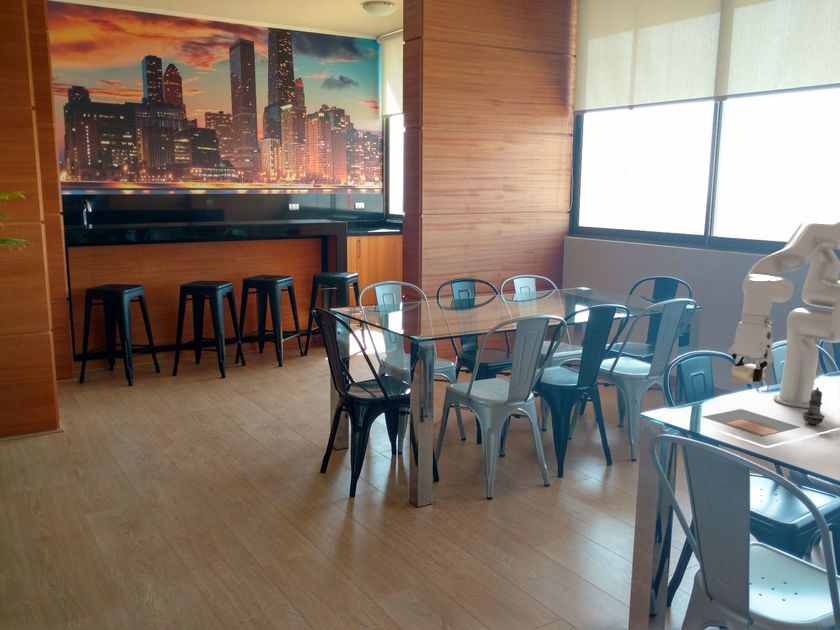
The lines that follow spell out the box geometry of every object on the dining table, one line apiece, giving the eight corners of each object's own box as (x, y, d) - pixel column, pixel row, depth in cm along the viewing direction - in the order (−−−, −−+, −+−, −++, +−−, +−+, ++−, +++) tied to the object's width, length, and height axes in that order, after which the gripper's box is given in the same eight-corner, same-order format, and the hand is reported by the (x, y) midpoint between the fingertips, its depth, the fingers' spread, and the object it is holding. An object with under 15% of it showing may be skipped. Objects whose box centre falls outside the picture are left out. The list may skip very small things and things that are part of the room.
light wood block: (749, 376, 223) (751, 363, 222) (764, 380, 219) (766, 367, 218) (730, 380, 218) (731, 367, 217) (745, 384, 214) (747, 371, 213)
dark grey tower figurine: (822, 425, 216) (828, 386, 214) (823, 431, 211) (830, 391, 209) (799, 422, 218) (805, 383, 216) (801, 427, 213) (807, 387, 211)
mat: (741, 410, 227) (741, 408, 226) (800, 429, 211) (800, 426, 211) (701, 418, 216) (701, 416, 215) (761, 438, 200) (761, 436, 200)
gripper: (790, 324, 210) (781, 384, 213) (736, 313, 224) (729, 370, 227) (775, 326, 206) (767, 387, 209) (722, 315, 220) (715, 373, 223)
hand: (747, 378), depth 218 cm, fingers closed on light wood block, 5 cm apart
